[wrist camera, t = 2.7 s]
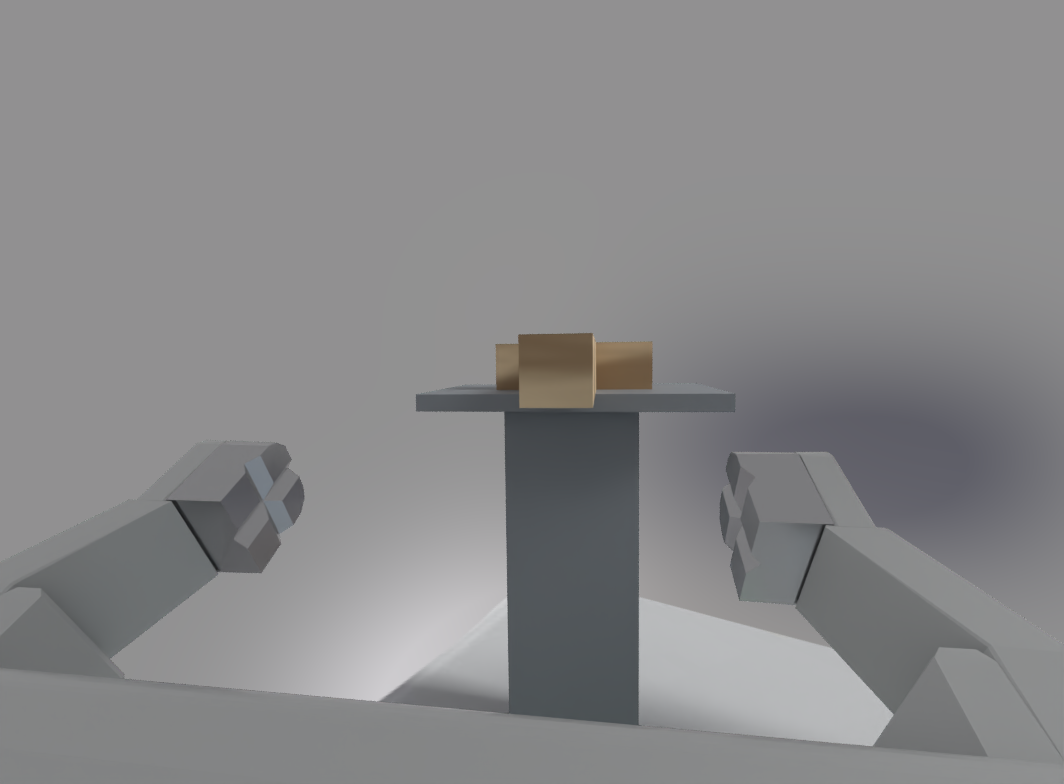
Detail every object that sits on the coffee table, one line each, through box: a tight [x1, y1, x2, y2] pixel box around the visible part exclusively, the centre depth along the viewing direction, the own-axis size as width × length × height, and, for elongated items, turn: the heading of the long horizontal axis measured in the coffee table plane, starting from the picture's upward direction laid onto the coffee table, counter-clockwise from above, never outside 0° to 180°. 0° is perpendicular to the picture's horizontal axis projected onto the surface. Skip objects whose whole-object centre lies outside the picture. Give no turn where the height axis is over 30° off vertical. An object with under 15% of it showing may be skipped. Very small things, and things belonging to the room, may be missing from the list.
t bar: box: [496, 333, 652, 408], centre depth 28 cm, size 15×10×3 cm, turn 172°
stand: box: [416, 383, 735, 725], centre depth 35 cm, size 11×18×26 cm, turn 82°
